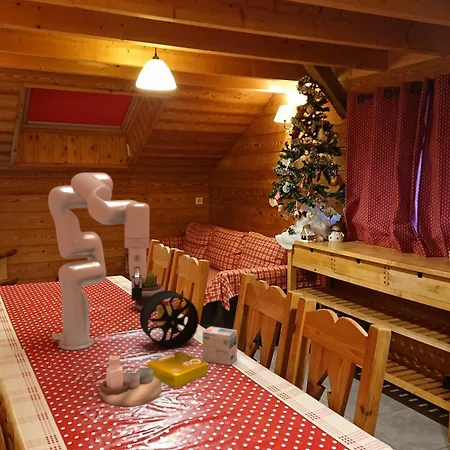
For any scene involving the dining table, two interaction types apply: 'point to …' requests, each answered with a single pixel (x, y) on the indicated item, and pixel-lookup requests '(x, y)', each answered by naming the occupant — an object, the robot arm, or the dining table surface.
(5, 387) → the dining table surface
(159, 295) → the car wheel rim
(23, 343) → the dining table surface
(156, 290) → the flowerpot
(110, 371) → the salt shaker
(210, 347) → the light bulb box
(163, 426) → the dining table surface
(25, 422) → the dining table surface
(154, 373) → the element tile
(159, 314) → the canned food
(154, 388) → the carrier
